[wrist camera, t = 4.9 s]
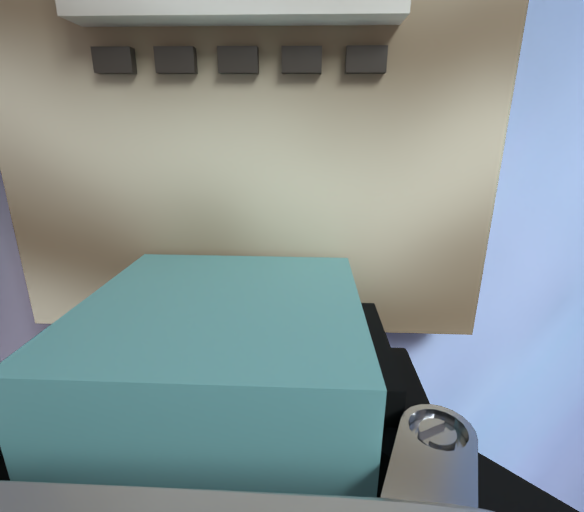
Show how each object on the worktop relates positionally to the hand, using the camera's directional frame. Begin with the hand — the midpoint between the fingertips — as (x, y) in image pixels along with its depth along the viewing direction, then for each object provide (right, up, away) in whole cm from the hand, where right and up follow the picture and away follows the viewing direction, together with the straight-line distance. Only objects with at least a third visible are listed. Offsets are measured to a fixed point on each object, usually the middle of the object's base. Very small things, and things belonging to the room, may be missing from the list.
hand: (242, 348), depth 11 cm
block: (0, 0, +1) cm, 1 cm away
